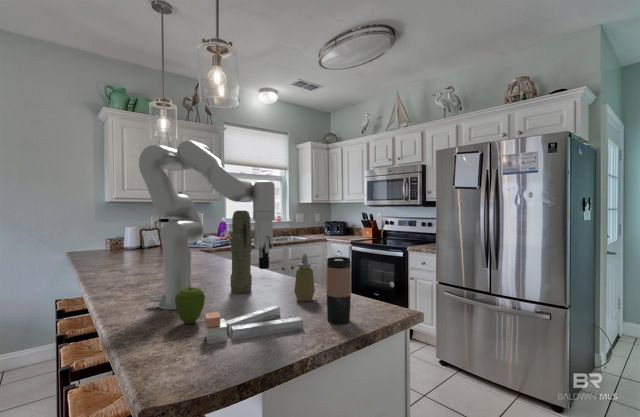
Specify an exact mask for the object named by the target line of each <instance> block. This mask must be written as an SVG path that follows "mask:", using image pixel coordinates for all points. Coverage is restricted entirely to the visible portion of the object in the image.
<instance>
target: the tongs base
mask: <svg viewBox="0 0 640 417" xmlns="http://www.w3.org/2000/svg"><path fill="white" fill-rule="evenodd" d="M225 321H226V320H225V318H220V326H216V327H208V328H206V327H205V337H206V342H207V345H211V344H218V343H225V342H228V334H227V325H226V322H225ZM303 329H304V319H303V318H302V317H301V316H297V317H289V318H282V319H275V320H266V321H263V322H259V323H252V324H245V325H238V326H231V333H230V334H231V335H230V337H231V339H232V341H236V340H242V339H249V338H256V337H261V336H262V337H263V336H266V335H267V336H268V335H275V334H281V333H285V332H293V331H300V330H303Z"/></svg>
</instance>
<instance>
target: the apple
mask: <svg viewBox="0 0 640 417" xmlns="http://www.w3.org/2000/svg"><path fill="white" fill-rule="evenodd" d="M205 299H206V296H205V293H204V291H203V290H202V289H201V288H199V287H191V288H185V289H182V290H180V291H179V292H178V293H177V295H176V298H175V302H176V308H177V309H176V310H177V311H176V312H177V314H178V316H179V319H180V320H181V321H182V322H183V323H184V324H186V325H191V324H195V323H196V322H197V321H198V319H199V318H200V317H201V315H202V312H203V309H204V305H205V301H206V300H205Z"/></svg>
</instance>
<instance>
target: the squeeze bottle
mask: <svg viewBox="0 0 640 417" xmlns="http://www.w3.org/2000/svg"><path fill="white" fill-rule="evenodd" d="M308 260H309V259H308V256H307V254H306V253H303V255H302V259H301V262H299V263H298V268H297V269H296V273H295V283H294V294H295V297H296V300H297V301H299V302H310V301H312V300H313V297H314V294H315V292H316V291H315V280H314V270H313V269H312V268H311V263H310V262H309V261H308Z"/></svg>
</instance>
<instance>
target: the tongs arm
mask: <svg viewBox="0 0 640 417" xmlns="http://www.w3.org/2000/svg"><path fill="white" fill-rule="evenodd" d="M280 315H281V307H280V306H277V305H271V306H269V307H265V308H262V309H258V310H256V311H254V312H250V313H247V314H243V315H241V316H238V317H235V318H232V319H228V320H225V322H226V325H227V335H230V334H231V326H238V325H245V324H252V323H259V322H267V321H269V320H271V319H274V318H276V317H279V316H280Z"/></svg>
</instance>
